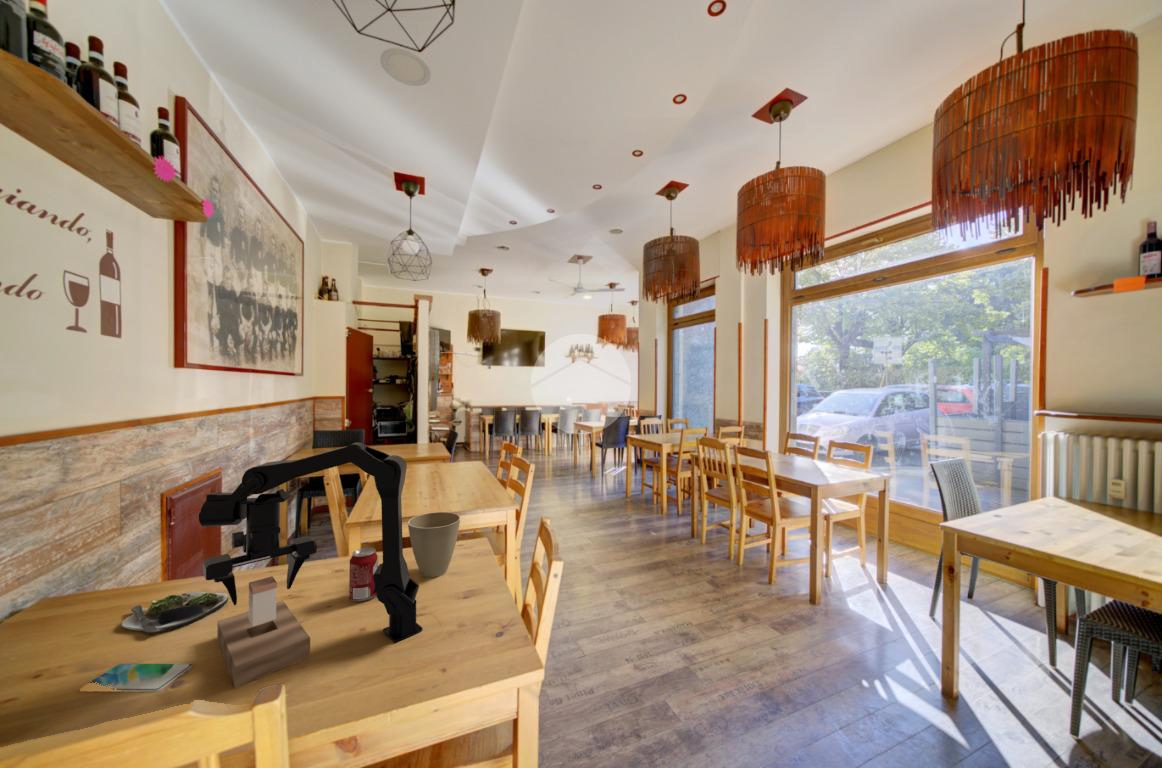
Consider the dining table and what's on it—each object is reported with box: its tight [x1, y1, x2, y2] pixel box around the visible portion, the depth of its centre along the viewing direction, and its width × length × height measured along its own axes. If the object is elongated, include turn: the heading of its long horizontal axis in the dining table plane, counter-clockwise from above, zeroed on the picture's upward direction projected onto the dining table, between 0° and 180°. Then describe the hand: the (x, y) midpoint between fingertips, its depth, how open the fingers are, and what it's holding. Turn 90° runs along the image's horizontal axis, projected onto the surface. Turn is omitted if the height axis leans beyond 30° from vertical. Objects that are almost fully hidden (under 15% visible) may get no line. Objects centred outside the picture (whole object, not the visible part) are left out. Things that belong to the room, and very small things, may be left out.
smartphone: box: [89, 663, 193, 693], centre depth 79 cm, size 7×1×15 cm
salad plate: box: [121, 591, 229, 634], centre depth 101 cm, size 19×18×5 cm
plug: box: [248, 576, 278, 626], centre depth 89 cm, size 4×4×8 cm
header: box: [216, 600, 311, 689], centre depth 89 cm, size 22×12×4 cm, turn 48°
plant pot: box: [407, 511, 461, 578], centre depth 125 cm, size 15×15×16 cm
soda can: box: [348, 547, 379, 602], centre depth 110 cm, size 7×7×12 cm
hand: (262, 596), depth 89 cm, fingers open, 9 cm apart
